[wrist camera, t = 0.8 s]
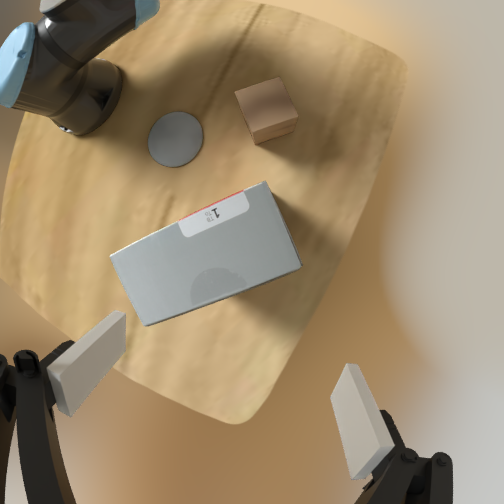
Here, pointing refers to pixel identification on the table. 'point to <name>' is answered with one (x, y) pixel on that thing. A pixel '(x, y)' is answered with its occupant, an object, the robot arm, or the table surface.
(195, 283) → the hard drive box
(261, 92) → the walnut block
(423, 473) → the robot arm
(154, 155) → the slate coaster
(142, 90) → the table surface
